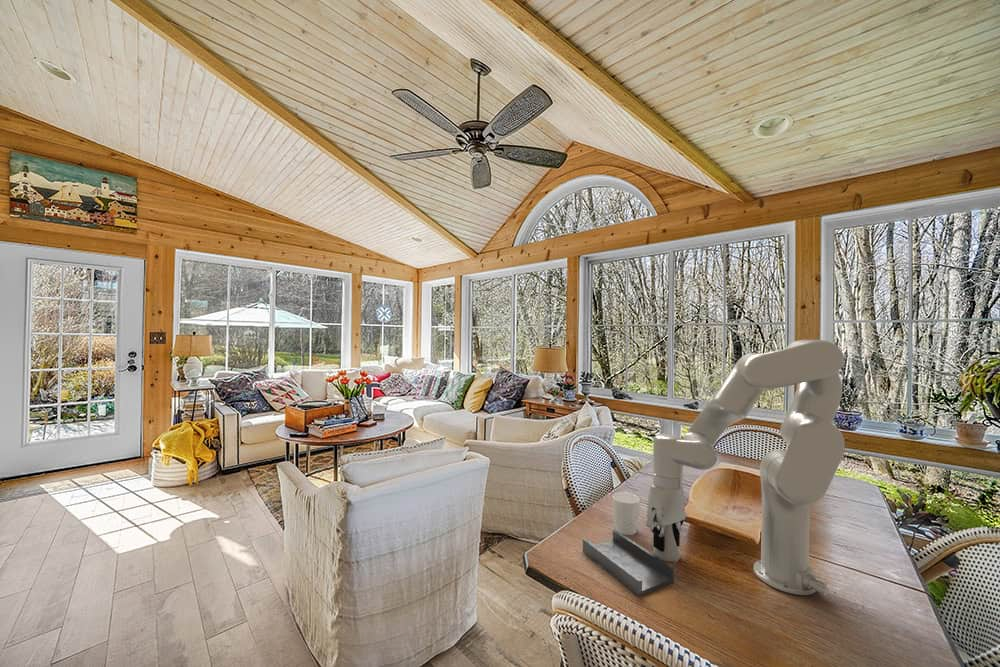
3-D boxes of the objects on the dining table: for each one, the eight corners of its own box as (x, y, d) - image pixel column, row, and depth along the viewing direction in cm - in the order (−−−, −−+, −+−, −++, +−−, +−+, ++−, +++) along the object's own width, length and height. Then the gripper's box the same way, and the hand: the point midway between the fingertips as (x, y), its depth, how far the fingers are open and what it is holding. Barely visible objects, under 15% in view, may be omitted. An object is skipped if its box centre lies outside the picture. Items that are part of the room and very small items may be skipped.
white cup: (641, 538, 114) (641, 504, 114) (613, 534, 115) (614, 501, 115) (637, 525, 122) (637, 493, 122) (611, 522, 123) (611, 491, 123)
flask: (680, 551, 107) (681, 515, 107) (680, 565, 100) (681, 527, 100) (652, 545, 110) (653, 510, 110) (651, 558, 103) (651, 521, 103)
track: (674, 582, 94) (674, 567, 94) (638, 596, 88) (639, 581, 88) (615, 542, 111) (615, 529, 111) (582, 551, 106) (582, 539, 106)
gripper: (676, 471, 112) (675, 533, 112) (634, 480, 105) (633, 547, 105) (700, 480, 106) (699, 546, 106) (656, 490, 98) (655, 561, 98)
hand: (666, 545), depth 105 cm, fingers closed on flask, 5 cm apart
